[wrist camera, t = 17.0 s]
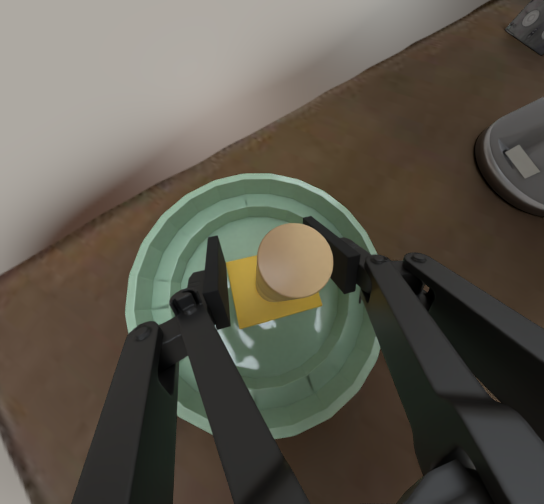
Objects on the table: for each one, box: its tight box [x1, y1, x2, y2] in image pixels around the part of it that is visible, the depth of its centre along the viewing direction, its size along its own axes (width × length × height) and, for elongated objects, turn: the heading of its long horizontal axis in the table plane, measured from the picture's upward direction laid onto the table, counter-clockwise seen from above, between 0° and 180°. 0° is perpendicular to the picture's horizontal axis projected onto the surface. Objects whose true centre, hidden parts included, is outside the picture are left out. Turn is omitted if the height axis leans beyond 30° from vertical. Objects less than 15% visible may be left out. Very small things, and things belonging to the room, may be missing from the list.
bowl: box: [125, 173, 381, 439], centre depth 17 cm, size 19×19×6 cm
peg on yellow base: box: [226, 223, 333, 329], centre depth 13 cm, size 7×6×12 cm
